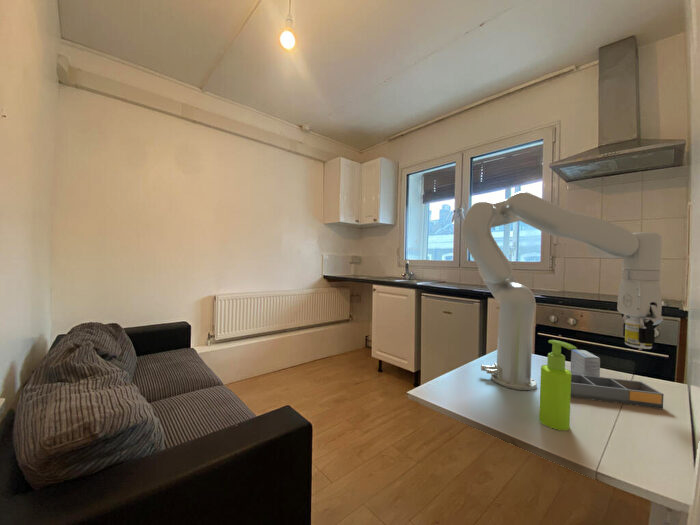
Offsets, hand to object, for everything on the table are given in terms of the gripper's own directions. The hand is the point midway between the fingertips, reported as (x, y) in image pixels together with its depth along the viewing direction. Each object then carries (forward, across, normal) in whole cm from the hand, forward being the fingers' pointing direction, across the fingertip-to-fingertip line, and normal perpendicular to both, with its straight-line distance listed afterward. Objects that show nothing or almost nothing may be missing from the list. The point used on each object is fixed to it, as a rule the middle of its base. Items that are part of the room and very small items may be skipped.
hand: (638, 339), depth 79 cm
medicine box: (+18, -12, -7) cm, 22 cm away
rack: (+17, 0, -8) cm, 19 cm away
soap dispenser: (+17, +21, -28) cm, 39 cm away
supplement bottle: (+2, 0, 0) cm, 2 cm away
